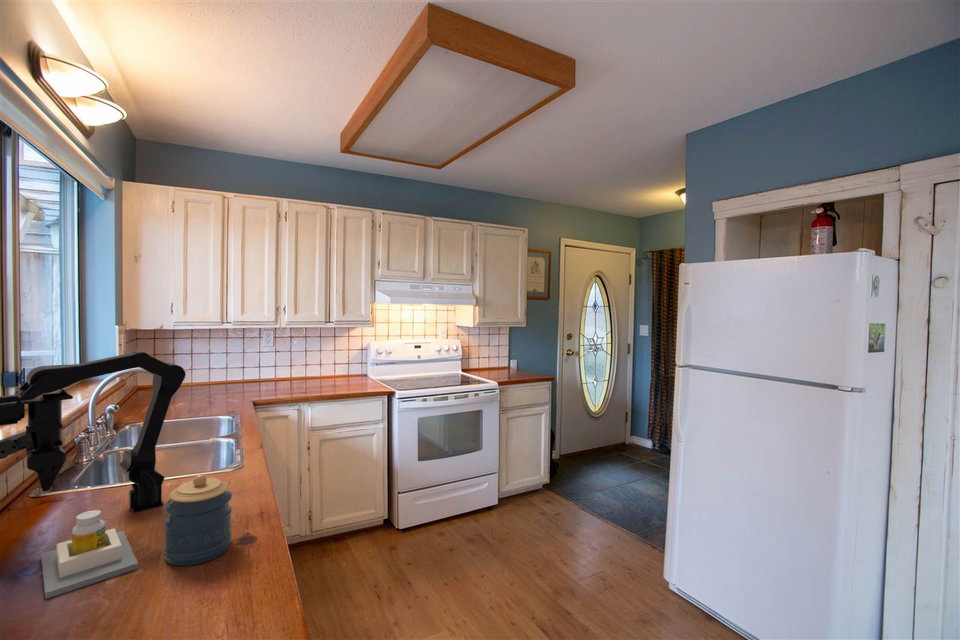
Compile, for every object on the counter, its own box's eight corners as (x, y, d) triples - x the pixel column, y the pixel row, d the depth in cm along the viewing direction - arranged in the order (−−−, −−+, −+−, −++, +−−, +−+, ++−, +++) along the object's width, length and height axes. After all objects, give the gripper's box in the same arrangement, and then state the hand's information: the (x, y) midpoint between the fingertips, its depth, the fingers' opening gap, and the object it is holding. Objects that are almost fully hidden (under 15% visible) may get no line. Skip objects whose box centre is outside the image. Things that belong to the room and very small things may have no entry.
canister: (222, 530, 110) (223, 460, 109) (238, 552, 100) (240, 476, 100) (159, 549, 101) (159, 473, 100) (170, 575, 91) (171, 492, 91)
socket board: (123, 535, 105) (123, 518, 105) (137, 568, 93) (138, 549, 93) (41, 558, 95) (41, 539, 95) (45, 599, 83) (45, 577, 83)
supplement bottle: (77, 554, 95) (77, 510, 95) (108, 548, 98) (108, 506, 97) (67, 567, 91) (67, 522, 90) (100, 561, 93) (100, 517, 93)
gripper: (-5, 417, 104) (-5, 481, 105) (-8, 435, 92) (-7, 509, 92) (60, 410, 112) (60, 470, 113) (66, 426, 100) (65, 493, 100)
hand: (45, 484), depth 104 cm, fingers open, 9 cm apart
